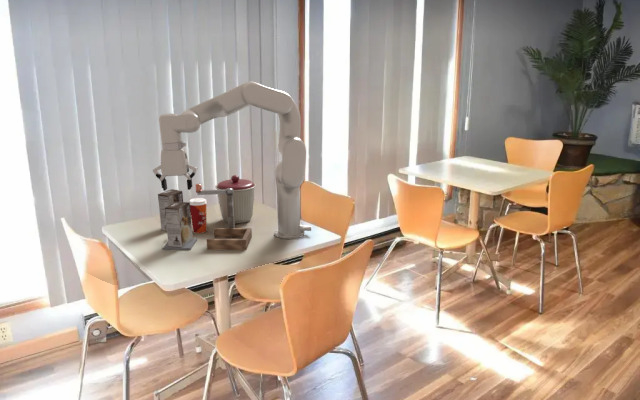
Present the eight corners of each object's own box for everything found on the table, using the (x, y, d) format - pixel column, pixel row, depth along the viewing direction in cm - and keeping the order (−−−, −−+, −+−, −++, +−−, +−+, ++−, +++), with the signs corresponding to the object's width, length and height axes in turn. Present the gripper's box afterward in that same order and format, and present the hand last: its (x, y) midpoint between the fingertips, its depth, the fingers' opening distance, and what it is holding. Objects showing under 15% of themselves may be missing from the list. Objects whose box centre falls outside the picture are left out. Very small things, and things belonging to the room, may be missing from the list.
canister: (265, 219, 260) (263, 174, 254) (235, 229, 247) (232, 182, 241) (239, 212, 272) (237, 168, 266) (209, 221, 259) (206, 176, 253)
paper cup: (204, 234, 241) (202, 202, 237) (187, 233, 242) (185, 202, 239) (211, 228, 248) (209, 197, 244) (195, 227, 250) (193, 197, 246)
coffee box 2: (179, 238, 234) (175, 201, 230) (193, 239, 232) (190, 202, 228) (167, 246, 226) (164, 207, 221) (182, 247, 224) (179, 208, 219)
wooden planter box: (253, 234, 241) (251, 193, 236) (246, 249, 223) (244, 205, 218) (216, 234, 241) (213, 193, 236) (207, 249, 224) (204, 205, 219)
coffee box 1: (174, 223, 256) (171, 188, 251) (185, 225, 253) (183, 190, 249) (160, 229, 248) (157, 193, 244) (171, 231, 245) (168, 195, 241)
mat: (197, 240, 234) (196, 238, 234) (190, 249, 224) (190, 247, 223) (170, 240, 235) (170, 238, 234) (162, 249, 224) (162, 247, 224)
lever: (233, 192, 236) (233, 182, 234) (233, 194, 233) (232, 184, 232) (196, 194, 234) (195, 183, 233) (195, 195, 231) (195, 185, 230)
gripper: (197, 143, 221) (201, 186, 226) (153, 145, 222) (158, 187, 227) (192, 147, 214) (197, 191, 219) (147, 149, 215) (152, 192, 220)
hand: (177, 189), depth 223 cm, fingers open, 9 cm apart
